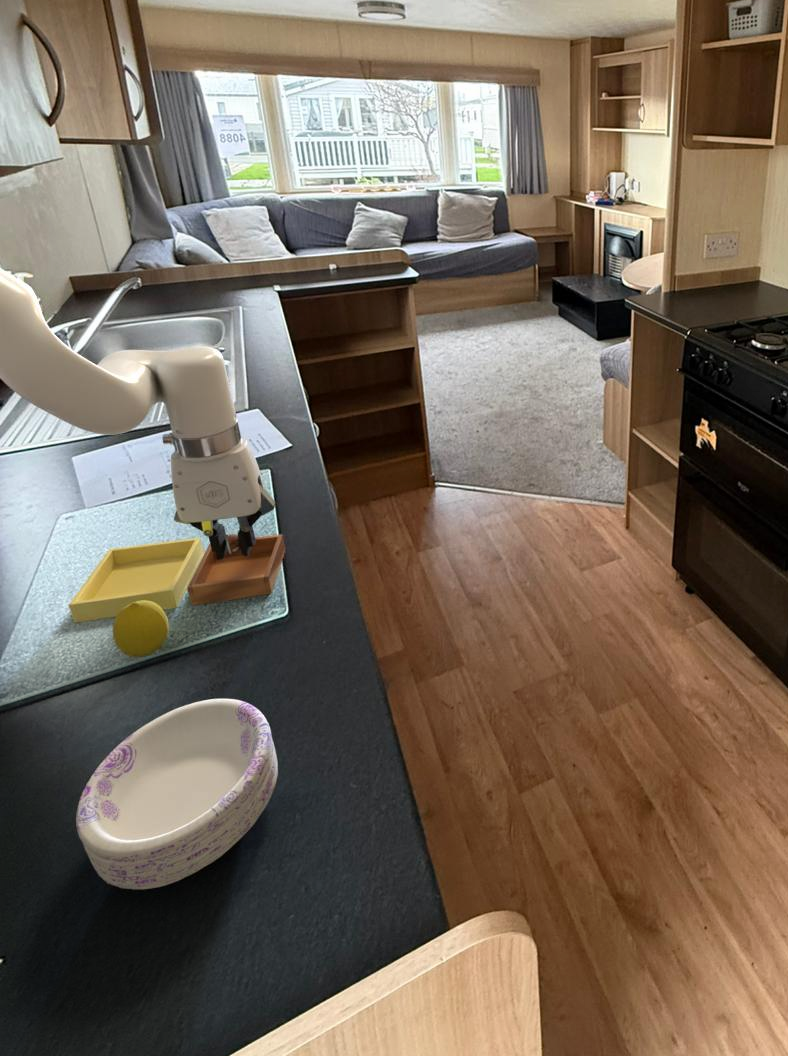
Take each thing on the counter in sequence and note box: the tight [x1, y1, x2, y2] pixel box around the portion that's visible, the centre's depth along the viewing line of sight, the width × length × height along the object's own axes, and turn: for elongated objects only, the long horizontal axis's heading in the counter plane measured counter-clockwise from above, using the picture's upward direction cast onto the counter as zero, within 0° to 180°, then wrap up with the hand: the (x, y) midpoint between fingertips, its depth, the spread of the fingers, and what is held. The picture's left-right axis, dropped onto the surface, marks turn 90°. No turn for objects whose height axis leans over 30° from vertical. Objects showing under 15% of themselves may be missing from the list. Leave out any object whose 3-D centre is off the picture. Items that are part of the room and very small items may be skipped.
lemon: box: [112, 600, 170, 658], centre depth 80 cm, size 6×6×8 cm
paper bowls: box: [75, 698, 279, 891], centre depth 61 cm, size 15×15×8 cm
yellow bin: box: [68, 537, 205, 624], centre depth 93 cm, size 12×12×3 cm
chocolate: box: [225, 525, 241, 555], centre depth 93 cm, size 3×2×4 cm
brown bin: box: [186, 533, 287, 606], centre depth 95 cm, size 10×10×3 cm
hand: (235, 550), depth 94 cm, fingers closed on chocolate, 2 cm apart
